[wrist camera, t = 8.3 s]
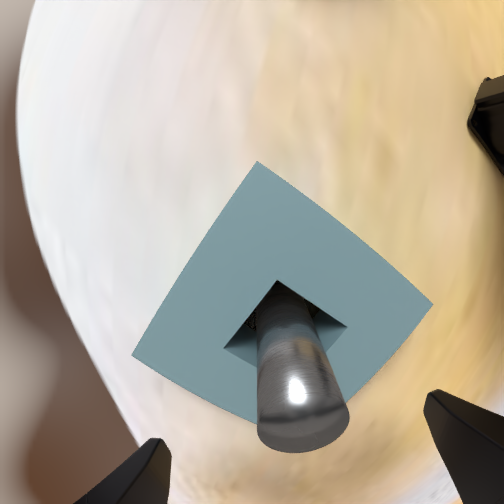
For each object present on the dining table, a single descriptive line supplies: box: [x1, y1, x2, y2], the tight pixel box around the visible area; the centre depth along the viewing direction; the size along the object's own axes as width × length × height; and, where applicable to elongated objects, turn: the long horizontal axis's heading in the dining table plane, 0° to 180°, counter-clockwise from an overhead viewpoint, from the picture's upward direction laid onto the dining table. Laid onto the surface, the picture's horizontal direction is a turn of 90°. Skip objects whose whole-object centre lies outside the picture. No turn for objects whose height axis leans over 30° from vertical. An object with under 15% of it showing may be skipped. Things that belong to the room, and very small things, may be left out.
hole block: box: [132, 161, 433, 424], centre depth 15 cm, size 12×12×4 cm
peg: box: [256, 284, 350, 453], centre depth 12 cm, size 3×3×10 cm
